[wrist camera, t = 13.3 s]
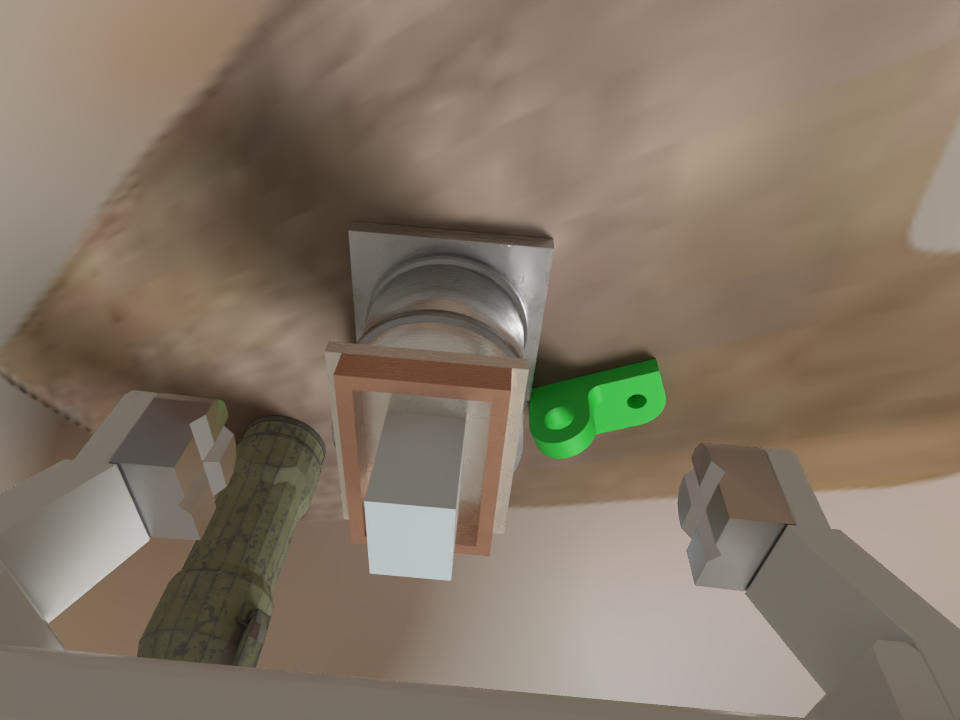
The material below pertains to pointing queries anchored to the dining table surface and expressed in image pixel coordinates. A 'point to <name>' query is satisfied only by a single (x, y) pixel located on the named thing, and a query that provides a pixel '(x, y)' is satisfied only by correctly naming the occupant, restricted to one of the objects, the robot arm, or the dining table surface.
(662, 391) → the mechanical part
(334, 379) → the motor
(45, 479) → the robot arm
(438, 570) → the pale grey rectangular block
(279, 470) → the thermos
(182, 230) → the dining table surface
